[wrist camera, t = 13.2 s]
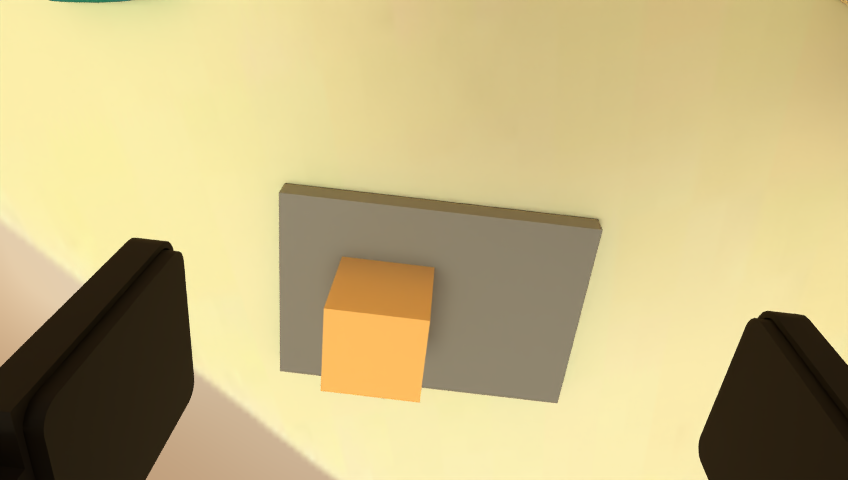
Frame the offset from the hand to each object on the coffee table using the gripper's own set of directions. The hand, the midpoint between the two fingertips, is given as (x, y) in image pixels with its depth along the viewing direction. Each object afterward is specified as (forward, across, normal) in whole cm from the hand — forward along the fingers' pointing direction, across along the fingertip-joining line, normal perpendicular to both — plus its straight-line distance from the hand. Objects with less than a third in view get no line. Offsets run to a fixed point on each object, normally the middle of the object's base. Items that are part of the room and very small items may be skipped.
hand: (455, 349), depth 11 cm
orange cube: (+27, +3, +17) cm, 32 cm away
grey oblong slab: (+28, 0, +17) cm, 33 cm away
